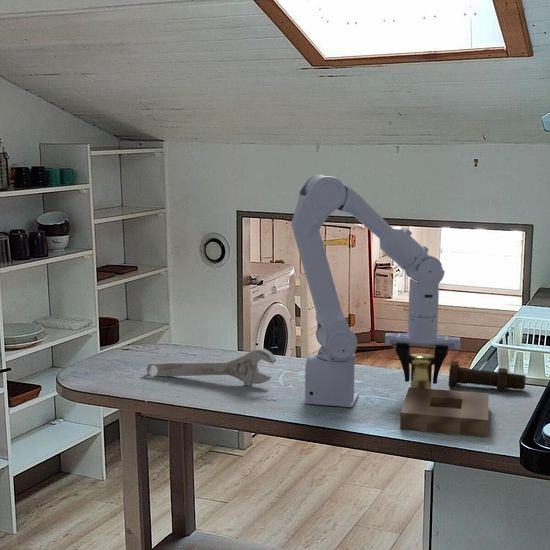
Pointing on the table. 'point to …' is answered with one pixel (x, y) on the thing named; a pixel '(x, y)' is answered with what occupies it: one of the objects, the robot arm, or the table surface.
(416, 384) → the brass pin
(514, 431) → the table surface
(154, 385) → the table surface
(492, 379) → the bolt
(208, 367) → the wrench
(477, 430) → the socket plate
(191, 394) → the table surface
